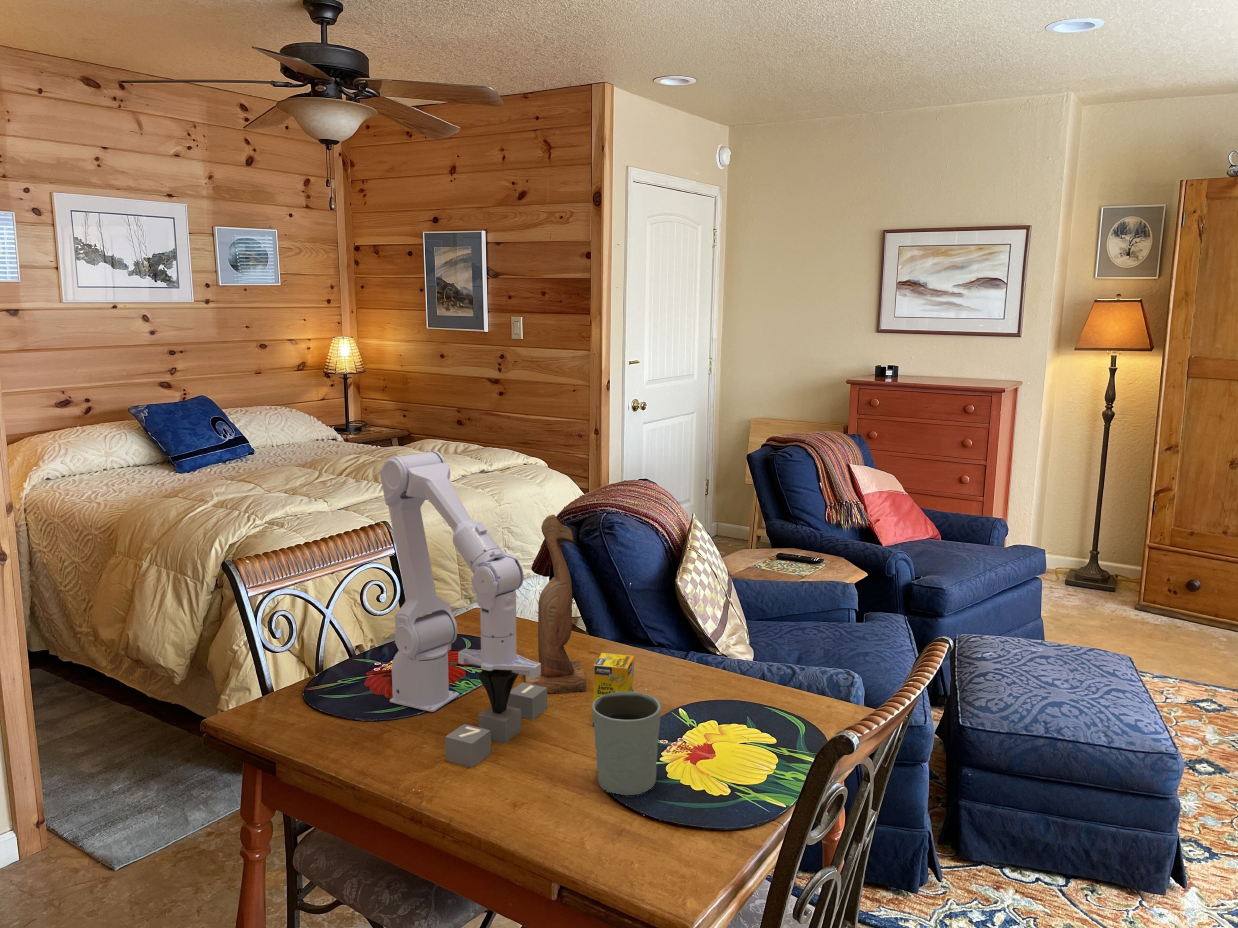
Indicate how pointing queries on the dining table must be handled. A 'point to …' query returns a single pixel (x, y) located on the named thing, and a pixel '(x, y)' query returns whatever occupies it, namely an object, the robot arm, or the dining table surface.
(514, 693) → the block one
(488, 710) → the plain block
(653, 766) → the grey cup
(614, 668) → the supplement box
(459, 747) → the block seven
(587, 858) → the dining table surface
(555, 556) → the bird sculpture
